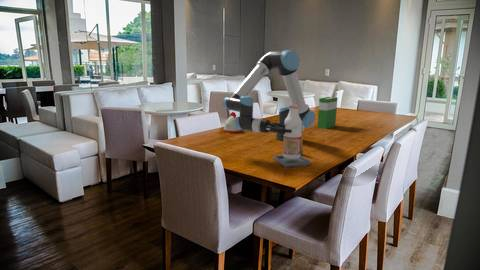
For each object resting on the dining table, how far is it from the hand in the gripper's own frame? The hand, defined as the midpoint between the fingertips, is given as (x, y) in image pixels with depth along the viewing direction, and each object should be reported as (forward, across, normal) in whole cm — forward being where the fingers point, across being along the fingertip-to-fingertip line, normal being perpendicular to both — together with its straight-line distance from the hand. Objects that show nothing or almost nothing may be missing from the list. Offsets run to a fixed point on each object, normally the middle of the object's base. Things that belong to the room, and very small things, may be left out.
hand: (301, 130), depth 172 cm
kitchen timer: (-70, -54, -19) cm, 90 cm away
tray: (-4, 0, -18) cm, 19 cm away
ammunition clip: (-9, -19, -19) cm, 28 cm away
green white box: (-10, -107, -18) cm, 109 cm away
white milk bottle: (-4, 0, -16) cm, 16 cm away
